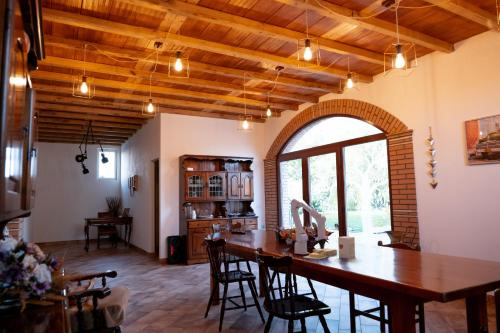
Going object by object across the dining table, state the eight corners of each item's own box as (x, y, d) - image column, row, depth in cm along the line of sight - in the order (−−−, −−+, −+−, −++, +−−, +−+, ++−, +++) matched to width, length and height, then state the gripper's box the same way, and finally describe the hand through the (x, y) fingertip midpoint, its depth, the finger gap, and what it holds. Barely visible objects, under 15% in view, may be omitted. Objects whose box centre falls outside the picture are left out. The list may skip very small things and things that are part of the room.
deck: (313, 255, 278) (313, 249, 279) (321, 253, 287) (321, 248, 287) (328, 256, 269) (328, 251, 269) (337, 254, 277) (336, 249, 277)
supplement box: (338, 257, 265) (337, 237, 266) (345, 256, 271) (344, 236, 272) (349, 258, 258) (348, 238, 259) (355, 257, 264) (354, 236, 265)
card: (313, 252, 274) (313, 255, 274) (309, 253, 270) (309, 256, 270) (323, 254, 268) (323, 256, 268) (319, 255, 264) (319, 257, 264)
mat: (303, 257, 269) (302, 257, 269) (312, 255, 278) (312, 254, 278) (318, 259, 259) (318, 258, 259) (328, 256, 268) (328, 256, 268)
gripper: (320, 232, 269) (321, 250, 267) (331, 230, 279) (331, 248, 278) (312, 231, 274) (313, 249, 272) (323, 230, 284) (324, 247, 283)
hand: (322, 249), depth 275 cm, fingers closed
